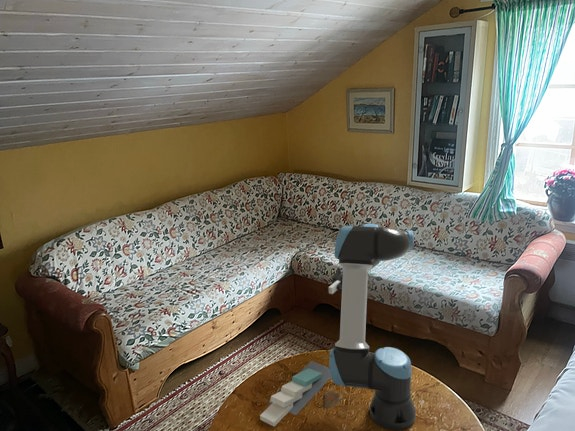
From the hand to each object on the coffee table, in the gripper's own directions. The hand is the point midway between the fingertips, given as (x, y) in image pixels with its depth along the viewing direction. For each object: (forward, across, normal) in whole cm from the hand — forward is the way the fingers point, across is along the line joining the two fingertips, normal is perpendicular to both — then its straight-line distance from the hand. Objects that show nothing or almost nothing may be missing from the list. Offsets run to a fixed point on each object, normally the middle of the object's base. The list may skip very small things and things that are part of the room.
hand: (330, 290), depth 176 cm
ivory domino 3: (+19, +1, -30) cm, 35 cm away
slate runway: (+19, +1, -32) cm, 37 cm away
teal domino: (+12, +1, -30) cm, 32 cm away
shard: (+20, -12, -33) cm, 40 cm away
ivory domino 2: (+31, +1, -30) cm, 43 cm away
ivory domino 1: (+25, +1, -30) cm, 39 cm away
